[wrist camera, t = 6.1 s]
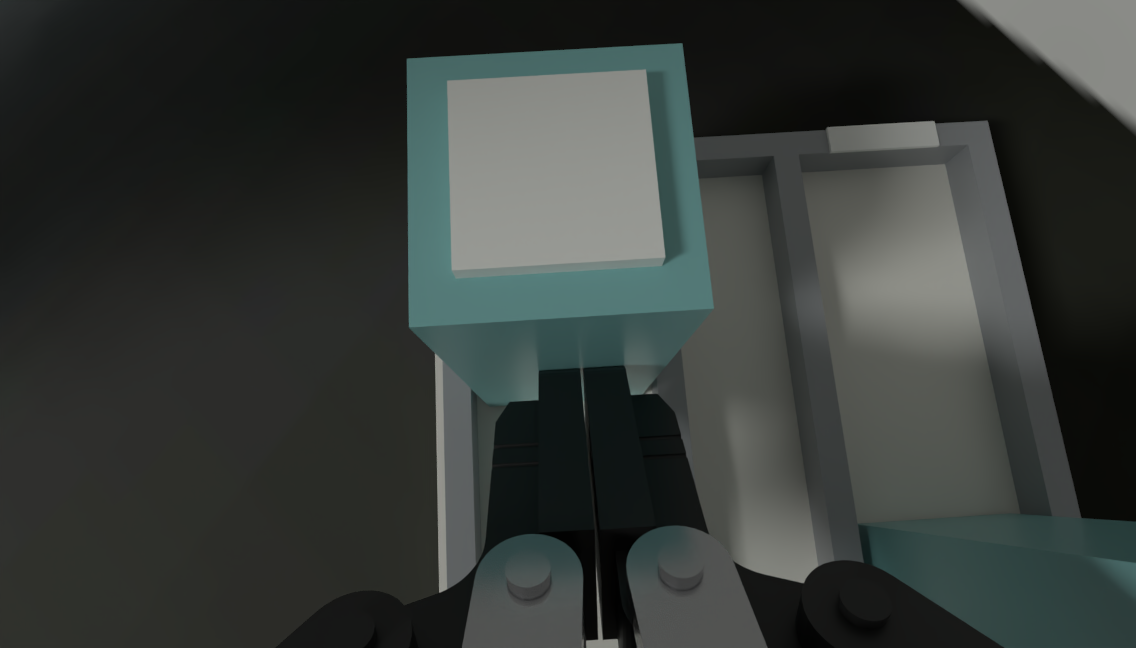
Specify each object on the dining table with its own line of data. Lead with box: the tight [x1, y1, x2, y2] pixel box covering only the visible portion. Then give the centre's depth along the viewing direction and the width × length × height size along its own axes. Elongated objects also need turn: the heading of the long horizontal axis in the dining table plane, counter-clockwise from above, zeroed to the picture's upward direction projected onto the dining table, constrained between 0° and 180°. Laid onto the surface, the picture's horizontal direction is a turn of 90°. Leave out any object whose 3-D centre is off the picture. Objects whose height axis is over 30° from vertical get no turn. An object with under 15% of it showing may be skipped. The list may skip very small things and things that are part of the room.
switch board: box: [435, 121, 1081, 648], centre depth 15 cm, size 15×14×2 cm
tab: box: [407, 43, 714, 407], centre depth 12 cm, size 4×4×8 cm
